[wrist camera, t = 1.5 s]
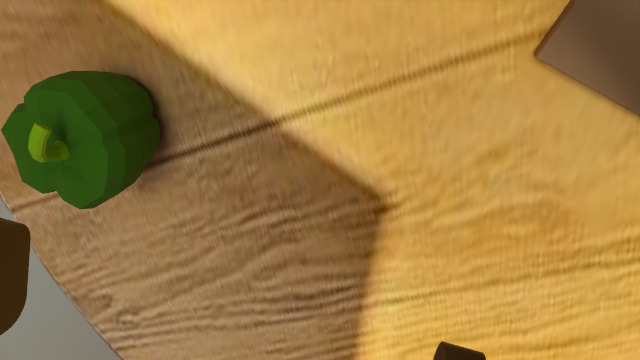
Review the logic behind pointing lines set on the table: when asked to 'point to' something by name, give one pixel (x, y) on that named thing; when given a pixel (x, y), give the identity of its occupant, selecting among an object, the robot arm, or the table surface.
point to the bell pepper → (83, 136)
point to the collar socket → (598, 48)
